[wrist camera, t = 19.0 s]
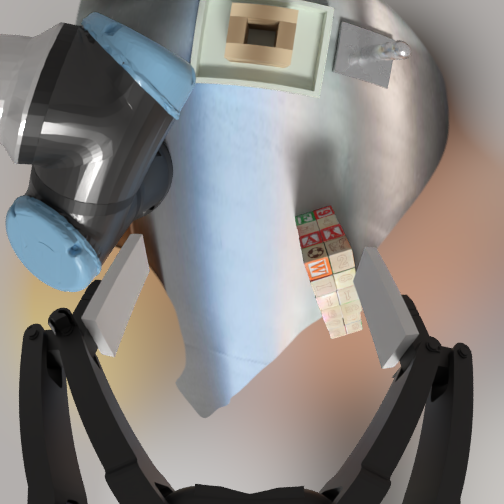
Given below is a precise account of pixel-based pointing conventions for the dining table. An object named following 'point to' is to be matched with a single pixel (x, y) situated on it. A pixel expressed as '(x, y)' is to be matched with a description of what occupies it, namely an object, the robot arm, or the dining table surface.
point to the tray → (261, 76)
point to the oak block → (261, 19)
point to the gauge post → (367, 54)
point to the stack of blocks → (330, 270)
